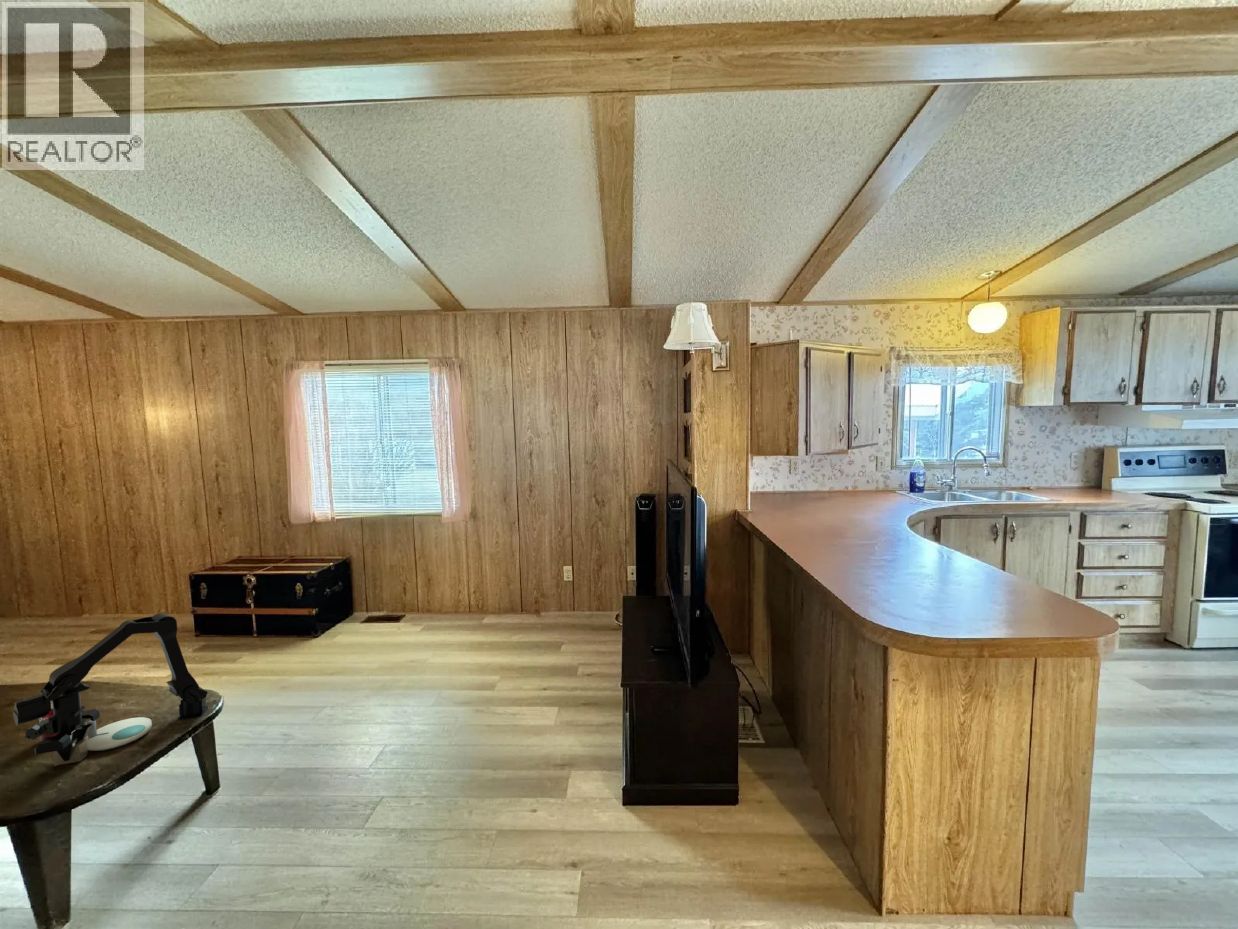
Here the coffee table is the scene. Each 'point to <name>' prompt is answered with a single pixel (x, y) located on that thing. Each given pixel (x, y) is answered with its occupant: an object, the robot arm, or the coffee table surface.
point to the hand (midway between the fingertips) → (70, 756)
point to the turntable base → (118, 746)
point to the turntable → (116, 733)
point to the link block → (73, 753)
